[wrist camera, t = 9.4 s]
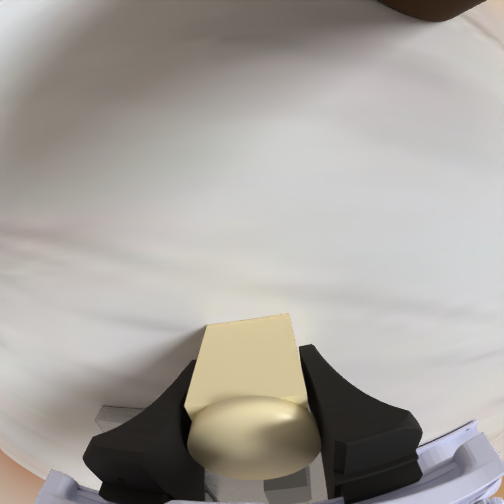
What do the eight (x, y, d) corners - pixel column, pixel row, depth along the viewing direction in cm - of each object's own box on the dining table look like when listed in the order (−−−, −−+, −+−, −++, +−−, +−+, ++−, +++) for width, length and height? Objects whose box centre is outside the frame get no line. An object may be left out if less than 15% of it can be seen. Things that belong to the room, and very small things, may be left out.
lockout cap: (294, 306, 13) (320, 403, 7) (303, 377, 14) (321, 471, 8) (199, 320, 13) (167, 416, 7) (221, 388, 15) (208, 481, 9)
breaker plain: (302, 450, 14) (307, 485, 12) (304, 470, 15) (308, 501, 12) (263, 455, 14) (263, 491, 12) (269, 475, 15) (270, 506, 12)
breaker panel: (325, 394, 15) (330, 414, 13) (323, 509, 21) (325, 520, 19) (102, 405, 16) (93, 421, 14) (196, 516, 22) (194, 527, 20)
